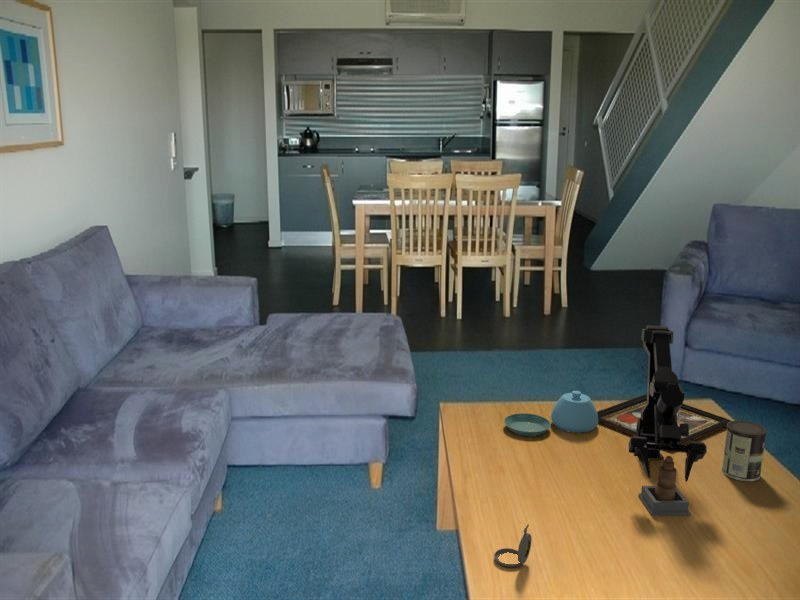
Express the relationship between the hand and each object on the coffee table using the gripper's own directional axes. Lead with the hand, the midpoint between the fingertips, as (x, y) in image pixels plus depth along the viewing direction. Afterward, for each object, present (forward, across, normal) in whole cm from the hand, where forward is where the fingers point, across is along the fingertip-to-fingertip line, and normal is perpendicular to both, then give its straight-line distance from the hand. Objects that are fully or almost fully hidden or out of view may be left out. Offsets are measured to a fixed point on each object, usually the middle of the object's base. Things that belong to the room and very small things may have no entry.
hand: (667, 479), depth 198 cm
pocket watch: (+29, -37, -17) cm, 50 cm away
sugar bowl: (-29, -22, +41) cm, 55 cm away
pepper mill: (+4, 0, +6) cm, 7 cm away
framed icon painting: (-35, +6, +48) cm, 60 cm away
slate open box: (+5, 0, +7) cm, 8 cm away
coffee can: (-12, +24, +24) cm, 36 cm away
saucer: (-24, -36, +37) cm, 57 cm away
